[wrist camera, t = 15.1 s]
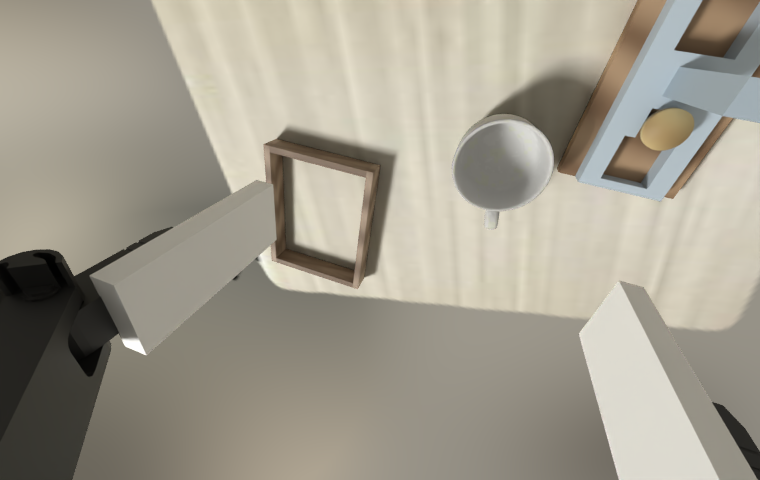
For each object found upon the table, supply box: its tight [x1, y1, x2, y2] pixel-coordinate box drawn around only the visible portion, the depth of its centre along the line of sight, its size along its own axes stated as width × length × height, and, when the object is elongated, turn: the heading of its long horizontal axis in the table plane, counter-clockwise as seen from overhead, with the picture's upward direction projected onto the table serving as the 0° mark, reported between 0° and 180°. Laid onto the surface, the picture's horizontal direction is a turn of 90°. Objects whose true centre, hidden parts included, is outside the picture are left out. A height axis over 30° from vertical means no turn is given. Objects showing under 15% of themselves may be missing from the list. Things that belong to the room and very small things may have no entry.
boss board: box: [557, 0, 760, 199], centre depth 30 cm, size 28×13×5 cm, turn 172°
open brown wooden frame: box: [264, 139, 380, 289], centre depth 55 cm, size 23×18×4 cm
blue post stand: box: [575, 0, 760, 201], centre depth 27 cm, size 24×9×12 cm, turn 172°
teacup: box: [452, 114, 554, 229], centre depth 40 cm, size 14×11×8 cm
